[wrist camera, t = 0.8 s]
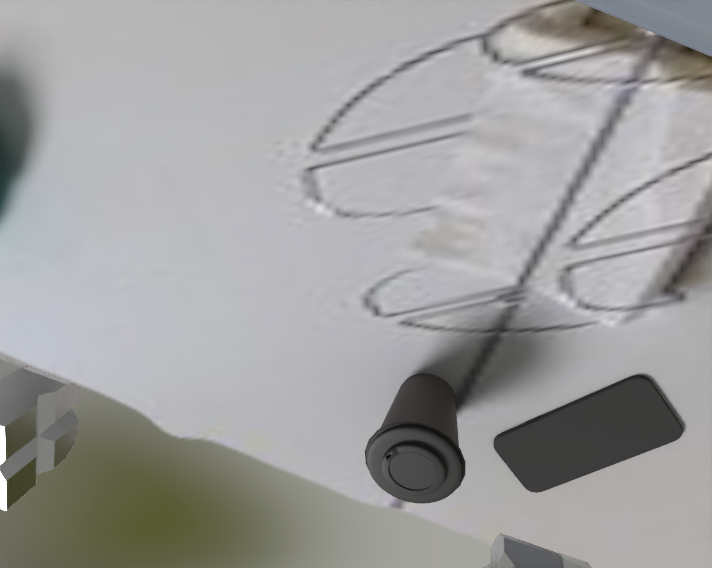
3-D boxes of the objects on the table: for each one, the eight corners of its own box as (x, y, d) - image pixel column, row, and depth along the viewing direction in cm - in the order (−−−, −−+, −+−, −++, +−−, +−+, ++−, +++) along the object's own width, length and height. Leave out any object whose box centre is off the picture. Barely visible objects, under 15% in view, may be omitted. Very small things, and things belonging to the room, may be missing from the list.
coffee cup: (389, 353, 51) (366, 421, 42) (477, 371, 49) (473, 445, 40) (380, 422, 54) (357, 498, 45) (462, 440, 53) (455, 523, 44)
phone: (688, 436, 47) (531, 496, 53) (685, 430, 47) (530, 490, 54) (644, 372, 45) (488, 441, 51) (642, 367, 46) (488, 436, 52)
